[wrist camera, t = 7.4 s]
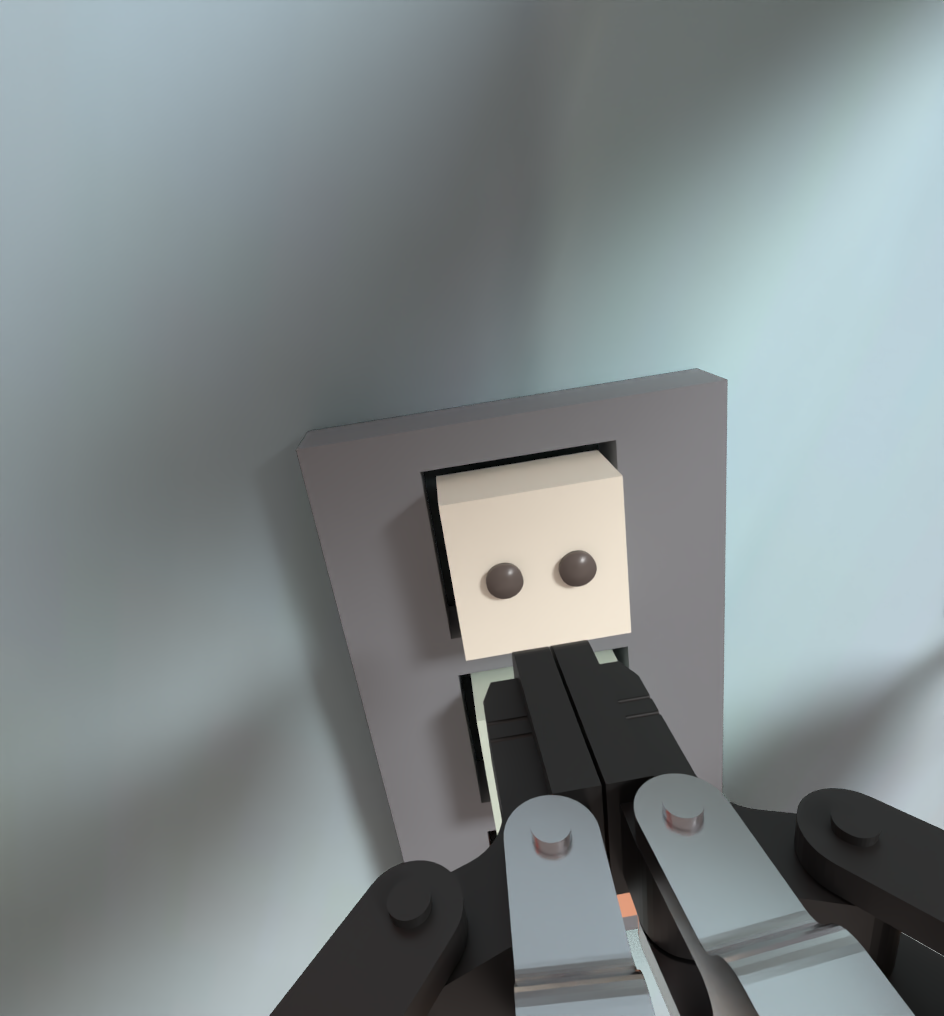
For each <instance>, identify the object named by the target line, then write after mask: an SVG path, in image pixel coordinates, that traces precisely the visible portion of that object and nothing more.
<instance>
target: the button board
mask: <svg viewBox="0 0 944 1016" xmlns="http://www.w3.org/2000/svg"><path fill="white" fill-rule="evenodd" d="M595 443H598V445H599V452H600V453H601V454H602V455H603V456H604V457H605V458H606V459H607V460H608V461H609V462H610V463H611V464H612V465H613V466H614V467H615V468H616V469H617V470H618V472H619V473H620V474H621V475H622V476H623V490H624V509H625V527H626V545H627V563H628V582H629V600H630V618H631V633H625V634H620V635H614V636H608V637H602V638H596V639H590V640H588V642H589V643H590V645H591V647H592V649H593V651H594V652H598V651H604V650H610V649H613V652H614V654H615V656H616V658H617V660H618V661H620V662H621V663H622V664H624V665H625V666H626V667H628V668H629V669H630V670H632V671H633V672H635V673H636V674H637V675H639V677H640V679H641V680H642V682H643V684H644V686H645V687H646V689H647V691H648V693H649V694H650V698H652V700H653V701H654V703H655V705H656V707H657V708H658V710H659V714H661V715H662V717H663V719H664V720H665V722H666V724H667V726H668V727H669V729H670V731H671V733H672V734H673V736H674V738H675V740H676V741H677V743H678V745H679V747H680V748H681V750H682V752H683V754H684V755H685V757H686V759H687V761H688V762H689V764H690V766H691V768H692V769H693V771H694V773H695V774H696V776H697V777H698V778H700V779H702V780H704V781H706V782H708V783H710V784H711V785H713V786H714V787H716V788H717V789H718V790H719V791H720V792H721V793H722V773H723V694H724V614H725V534H726V455H727V379H724V378H721V377H719V376H716V375H713V374H711V373H708V372H705V371H703V370H700V369H697V368H696V369H690V370H684V371H678V372H671V373H665V374H659V375H653V376H647V377H641V378H634V379H628V380H622V381H616V382H610V383H603V384H597V385H591V386H585V387H579V388H572V389H566V390H560V391H554V392H548V393H542V394H535V395H529V396H523V397H517V398H511V399H504V400H498V401H492V402H486V403H480V404H473V405H467V406H461V407H455V408H449V409H443V410H436V411H430V412H424V413H418V414H412V415H405V416H399V417H393V418H387V419H381V420H375V421H368V422H362V423H356V424H350V425H344V426H337V427H331V428H325V429H319V430H313V431H308V432H307V433H306V435H305V437H304V438H303V440H302V441H301V443H300V444H299V446H298V447H297V449H296V452H297V456H298V460H299V464H300V467H301V471H302V475H303V479H304V483H305V486H306V490H307V494H308V498H309V502H310V505H311V509H312V513H313V517H314V521H315V524H316V528H317V532H318V536H319V540H320V543H321V547H322V551H323V555H324V559H325V563H326V566H327V570H328V574H329V578H330V582H331V585H332V589H333V593H334V597H335V601H336V604H337V608H338V612H339V616H340V620H341V623H342V627H343V631H344V635H345V639H346V642H347V646H348V650H349V654H350V658H351V662H352V665H353V669H354V673H355V677H356V681H357V684H358V688H359V692H360V696H361V700H362V703H363V707H364V711H365V715H366V719H367V722H368V726H369V730H370V734H371V738H372V741H373V745H374V749H375V753H376V757H377V761H378V764H379V768H380V772H381V776H382V780H383V783H384V787H385V791H386V795H387V799H388V802H389V806H390V810H391V814H392V818H393V821H394V825H395V829H396V833H397V837H398V840H399V844H400V848H401V852H402V856H403V860H404V863H405V862H408V861H415V860H426V861H431V862H435V863H437V864H440V865H442V866H443V867H445V868H447V869H448V870H449V871H450V872H452V871H454V870H456V869H457V868H459V867H461V866H463V865H465V864H467V863H469V862H471V861H472V860H474V859H476V858H477V857H479V856H480V855H481V854H482V853H484V852H485V851H486V850H487V849H488V848H489V846H490V845H491V844H492V842H491V837H490V832H489V831H493V830H496V826H495V821H494V815H493V809H492V804H491V798H490V793H489V787H488V781H487V776H486V770H485V764H484V760H482V761H476V755H475V750H474V744H473V739H472V734H471V728H470V723H469V717H468V712H467V706H466V701H465V696H464V690H463V685H462V679H461V675H464V674H470V673H476V672H482V671H487V670H493V669H499V668H505V667H511V666H513V662H512V653H509V654H503V655H497V656H491V657H485V658H480V659H474V660H468V661H466V658H465V652H464V646H463V641H462V635H461V630H460V624H459V618H458V613H457V607H456V605H454V606H448V603H447V598H446V592H445V587H444V581H443V576H442V570H441V565H440V559H439V554H438V549H437V543H436V538H435V532H434V527H433V521H432V516H431V510H430V505H429V500H428V494H427V489H426V483H425V478H424V471H430V470H436V469H442V468H448V467H454V466H460V465H467V464H473V463H479V462H485V461H491V460H497V459H503V458H509V457H515V456H521V455H528V454H534V453H540V452H546V451H552V450H558V449H564V448H570V447H576V446H582V445H589V444H595ZM549 648H550V647H549ZM623 922H624V926H625V930H632V929H637V928H638V914H637V915H634V916H628V917H623Z"/></svg>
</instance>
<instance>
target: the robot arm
mask: <svg viewBox="0 0 944 1016" xmlns="http://www.w3.org/2000/svg"><path fill="white" fill-rule="evenodd" d="M512 662H513V671H514V679H508V680H502V681H496V682H491V683H490V685H489V688H488V690H487V693H486V695H485V698H484V701H483V705H484V712H485V719H486V726H487V733H488V740H489V747H490V754H491V761H492V767H493V773H494V778H495V784H496V790H497V796H498V801H499V807H500V813H501V819H502V823H501V827H500V830H499V832H498V834H497V837H496V838H495V840H494V841H493V843H492V844H491V845H490V846H489V848H488V849H487V850H486V851H485V852H484V853H482V854H481V855H480V856H479V857H477V858H476V859H474V860H472V861H471V862H469V863H467V864H465V865H463V866H461V867H459V868H457V869H456V870H454V871H452V872H450V871H449V870H448V869H447V868H445V867H443V866H442V865H440V864H437V863H435V862H431V861H426V860H415V861H408V862H405V863H401V864H399V865H397V866H394V867H392V868H391V869H389V870H387V871H386V872H384V873H383V874H382V875H381V876H380V877H378V878H377V879H376V881H375V882H374V883H373V884H372V885H371V886H370V887H369V889H368V890H367V891H366V893H365V894H364V895H363V896H362V898H361V899H360V900H359V902H358V903H357V904H356V905H355V907H354V908H353V909H352V911H351V912H350V913H349V914H348V916H347V917H346V918H345V920H344V921H343V922H342V923H341V925H340V926H339V927H338V928H337V930H336V931H335V932H334V934H333V935H332V936H331V937H330V939H329V940H328V941H327V943H326V944H325V945H324V946H323V948H322V949H321V950H320V952H319V953H318V954H317V955H316V957H315V958H314V959H313V960H312V962H311V963H310V964H309V966H308V967H307V968H306V969H305V971H304V972H303V973H302V975H301V976H300V977H299V978H298V980H297V981H296V982H295V984H294V985H293V986H292V987H291V989H290V990H289V991H288V992H287V994H286V995H285V996H284V998H283V999H282V1000H281V1001H280V1003H279V1004H278V1005H277V1007H276V1008H275V1009H274V1010H273V1012H272V1013H271V1014H270V1016H655V1012H654V1008H653V1005H652V1001H651V997H650V994H649V990H648V987H647V984H646V981H645V978H644V976H643V974H642V972H641V970H637V969H636V966H635V964H634V960H633V957H632V953H631V949H630V946H629V942H628V938H627V934H626V930H625V926H624V922H623V918H622V914H621V910H620V906H619V902H618V898H617V895H619V894H625V893H630V895H631V898H632V900H633V903H634V906H635V909H636V912H637V914H638V935H639V941H640V944H641V947H642V950H643V952H644V954H645V957H646V959H647V962H648V964H649V966H650V969H651V971H652V973H653V976H654V978H655V980H656V983H657V985H658V987H659V990H660V992H661V994H662V997H663V999H664V1002H665V1004H666V1006H667V1009H668V1011H669V1013H670V1016H944V957H943V956H944V830H942V829H940V828H938V827H936V826H933V825H931V824H929V823H927V822H925V821H922V820H920V819H918V818H916V817H914V816H911V815H909V814H907V813H905V812H903V811H900V810H898V809H896V808H894V807H892V806H889V805H887V804H885V803H883V802H881V801H878V800H876V799H874V798H872V797H869V796H867V795H864V794H862V793H858V792H855V791H851V790H846V789H837V788H829V789H821V790H817V791H814V792H812V793H810V794H808V795H807V796H805V797H804V798H803V799H802V801H801V802H800V804H799V806H798V809H797V814H794V813H785V812H775V811H766V810H757V809H751V808H746V807H742V806H738V805H736V804H733V803H731V802H729V801H728V800H727V798H726V797H725V796H724V795H723V794H722V793H721V792H720V791H719V790H718V789H717V788H716V787H714V786H713V785H711V784H710V783H708V782H706V781H704V780H702V779H700V778H698V777H697V776H696V774H695V773H694V771H693V769H692V768H691V766H690V764H689V762H688V761H687V759H686V757H685V755H684V754H683V752H682V750H681V748H680V747H679V745H678V743H677V741H676V740H675V738H674V736H673V734H672V733H671V731H670V729H669V727H668V726H667V724H666V722H665V720H664V719H663V717H662V715H661V714H659V710H658V708H657V707H656V705H655V703H654V701H653V700H652V698H650V694H649V693H648V691H647V689H646V687H645V686H644V684H643V682H642V680H641V679H640V677H639V675H637V674H636V673H635V672H633V671H632V670H630V669H629V668H628V667H626V666H625V665H624V664H622V663H621V662H620V661H616V662H610V663H604V664H599V662H598V660H597V658H596V656H595V653H594V651H593V649H592V647H591V645H590V643H589V642H588V640H582V641H576V642H570V643H564V644H558V645H552V646H550V648H549V647H548V646H546V647H540V648H534V649H528V650H522V651H516V652H512ZM901 932H903V933H904V934H903V933H901ZM905 934H906V935H905ZM907 935H908V936H910V937H911V938H910V937H908V936H907ZM912 938H913V939H912ZM914 939H915V940H917V941H919V942H920V943H919V942H917V941H915V940H914ZM921 943H922V944H924V945H926V946H927V947H926V946H924V945H922V944H921ZM928 947H929V948H931V949H933V950H934V951H933V950H931V949H929V948H928ZM935 951H936V952H938V953H940V954H941V955H940V954H938V953H936V952H935ZM942 955H943V956H942Z"/></svg>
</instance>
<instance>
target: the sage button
mask: <svg viewBox="0 0 944 1016" xmlns="http://www.w3.org/2000/svg"><path fill="white" fill-rule="evenodd" d="M594 653H595V656H596V658H597V660H598V662H599V664H604V663H610V662H616V661H618V660H617V658H616V656H615V654H614V652H613V650H612V649H610V650H604V651H598V652H594ZM508 679H514V671H513V666H511V667H505V668H499V669H493V670H487V671H482V672H476V673H471V681H472V688H473V696H474V704H475V711H476V719H477V725H478V731H479V736H480V742H481V748H482V753H483V759H484V764H485V770H486V776H487V781H488V787H489V793H490V798H491V804H492V809H493V815H494V821H495V826H496V832H497V834H498V832H499V830H500V827H501V823H502V819H501V813H500V807H499V801H498V796H497V790H496V784H495V778H494V773H493V767H492V761H491V754H490V747H489V740H488V733H487V726H486V719H485V712H484V705H483V701H484V698H485V695H486V693H487V690H488V688H489V685H490V683H491V682H496V681H502V680H508Z"/></svg>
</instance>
